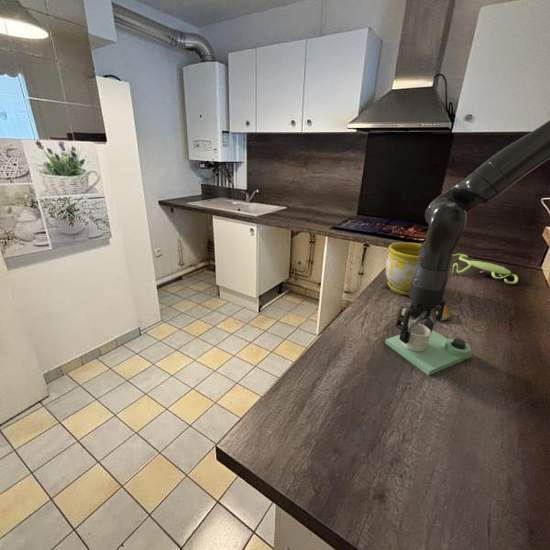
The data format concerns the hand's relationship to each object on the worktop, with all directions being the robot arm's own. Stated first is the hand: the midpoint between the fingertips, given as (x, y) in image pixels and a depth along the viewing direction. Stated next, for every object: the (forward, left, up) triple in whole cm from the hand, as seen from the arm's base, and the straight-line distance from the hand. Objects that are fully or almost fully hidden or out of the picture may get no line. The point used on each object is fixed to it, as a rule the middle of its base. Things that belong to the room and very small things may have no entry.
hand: (415, 337), depth 78 cm
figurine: (-72, -27, -4) cm, 77 cm away
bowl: (0, 0, -2) cm, 2 cm away
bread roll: (-22, -10, -4) cm, 24 cm away
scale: (-3, +2, -4) cm, 5 cm away
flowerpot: (-29, -28, -4) cm, 40 cm away
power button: (-8, +6, -1) cm, 11 cm away
